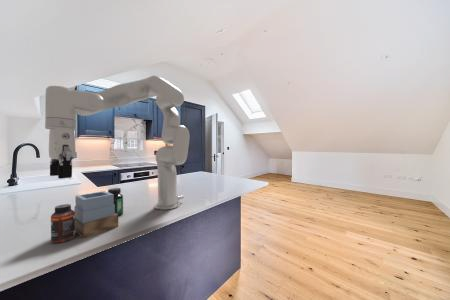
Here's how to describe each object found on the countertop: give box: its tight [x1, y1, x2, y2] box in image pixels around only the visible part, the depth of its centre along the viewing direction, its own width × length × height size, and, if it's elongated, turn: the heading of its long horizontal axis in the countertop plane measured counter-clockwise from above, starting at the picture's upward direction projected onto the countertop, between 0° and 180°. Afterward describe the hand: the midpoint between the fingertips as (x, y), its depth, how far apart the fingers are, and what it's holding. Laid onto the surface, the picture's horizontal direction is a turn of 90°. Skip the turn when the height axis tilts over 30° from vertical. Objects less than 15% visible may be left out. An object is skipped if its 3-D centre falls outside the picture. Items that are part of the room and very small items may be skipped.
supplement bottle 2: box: [107, 187, 124, 218], centre depth 81 cm, size 7×7×12 cm
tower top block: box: [73, 190, 115, 223], centre depth 68 cm, size 10×10×8 cm
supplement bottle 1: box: [50, 203, 76, 244], centre depth 59 cm, size 6×6×11 cm
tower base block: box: [75, 213, 119, 239], centre depth 68 cm, size 11×11×5 cm
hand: (60, 176), depth 59 cm, fingers open, 9 cm apart
